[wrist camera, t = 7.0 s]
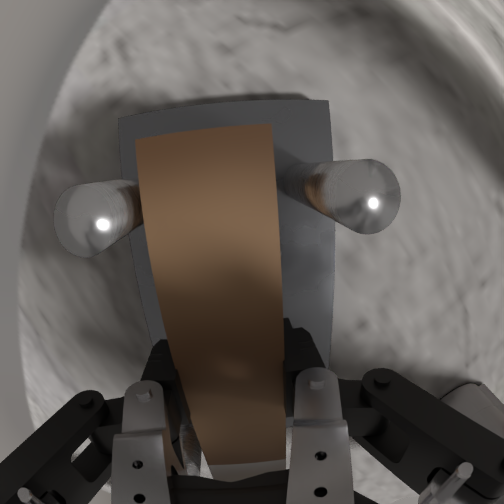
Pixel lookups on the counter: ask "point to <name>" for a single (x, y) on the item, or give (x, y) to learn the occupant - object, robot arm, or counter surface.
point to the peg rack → (288, 199)
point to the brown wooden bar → (220, 287)
